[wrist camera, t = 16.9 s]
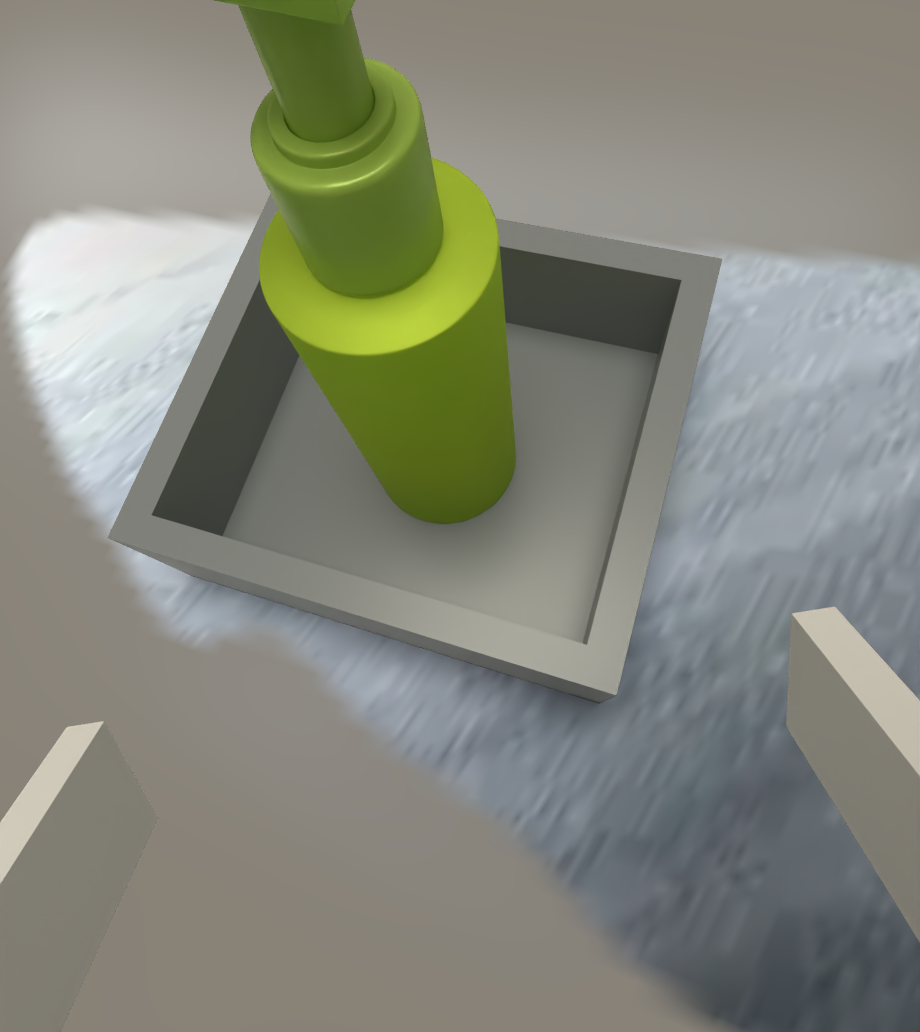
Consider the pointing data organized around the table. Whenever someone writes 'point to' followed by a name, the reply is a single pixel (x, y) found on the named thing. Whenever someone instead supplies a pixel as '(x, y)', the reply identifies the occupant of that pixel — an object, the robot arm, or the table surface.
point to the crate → (462, 545)
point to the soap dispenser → (381, 264)
